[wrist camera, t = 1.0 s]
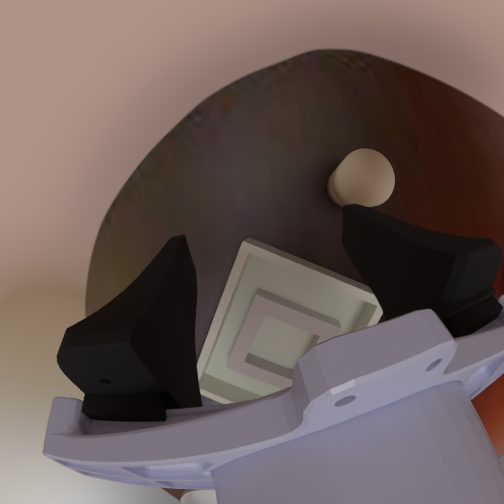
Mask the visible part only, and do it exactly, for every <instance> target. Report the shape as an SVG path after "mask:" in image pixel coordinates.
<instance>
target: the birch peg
mask: <svg viewBox="0 0 504 504" xmlns="http://www.w3.org/2000/svg"><path fill="white" fill-rule="evenodd" d="M394 183H395V177H394V172H393V169H392V166H391V165H390V163H389V161H388V160H387V159H386V158H385V157H384V156H383V155H382V154H380V153H378V152H377V151H374V150H371V149H359V150H355V151H353V152H352V153H350V154H349V155H348V156H347V157H346V158H345V159H344V160H343V161H342V162H341V164H340V165H339V166H338V167H337V168H336V169H335V170H334V172H333V173H332V174H331V175H330V177H329V179H328V182H327V192H328V195H329V197H330V199H331V200H332V201H333V202H334V203H335V204H336V205H338V206H339V207H342V208H343V205H349V204H359V205H363V206H365V207H371V206H377V205H380V204H382V203H383V202H385V201H386V200H387V199H388V198H389V197H390V195H391V193H392V191H393V188H394Z"/></svg>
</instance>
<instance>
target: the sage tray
mask: <svg viewBox="0 0 504 504" xmlns="http://www.w3.org/2000/svg"><path fill="white" fill-rule="evenodd" d="M382 313H383V311H382V309H381V307H380V305H379V303H378V301H377V299H376V297H375V295H374V294H373V292H372V290H371V289H370V288H369V286H366V285H364V284H362V283H359V282H357V281H355V280H352V279H350V278H347V277H345V276H343V275H340V274H338V273H335V272H333V271H331V270H328V269H326V268H323V267H321V266H318V265H316V264H314V263H311V262H309V261H306V260H304V259H301V258H299V257H297V256H294V255H292V254H289V253H287V252H284V251H282V250H279V249H277V248H274V247H272V246H270V245H267V244H265V243H262V242H260V241H257V240H255V239H252V238H250V237H249V238H247V239H245V240H244V241H242V244H241V247H240V249H239V252H238V255H237V257H236V260H235V263H234V265H233V268H232V271H231V273H230V276H229V279H228V281H227V284H226V287H225V289H224V292H223V295H222V297H221V300H220V303H219V306H218V308H217V311H216V314H215V316H214V319H213V322H212V325H211V327H210V330H209V333H208V336H207V338H206V341H205V344H204V347H203V349H202V352H201V355H200V358H199V360H198V363H197V371H198V380H199V387H200V394H202V395H204V396H206V397H208V398H211V399H213V400H215V401H218V402H220V403H223V404H228V403H235V402H241V401H248V400H253V399H258V398H261V397H264V396H266V395H269V394H272V393H275V392H277V391H280V390H283V389H285V388H288V387H290V386H292V384H293V382H292V372H293V369H294V367H295V365H296V362H297V360H298V359H299V358H300V357H301V356H302V355H303V354H304V353H306V352H307V351H308V350H309V349H311V348H312V347H313V346H314V345H316V344H319V343H321V342H323V341H326V340H328V339H330V338H333V337H335V336H339V335H342V334H346V333H349V332H353V331H356V330H359V329H363V328H366V327H369V326H372V325H375V324H377V323H378V321H379V319H380V317H381V315H382Z"/></svg>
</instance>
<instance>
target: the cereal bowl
mask: <svg viewBox="0 0 504 504" xmlns="http://www.w3.org/2000/svg"><path fill="white" fill-rule="evenodd" d="M181 504H217V499H216V492H215V489H185V490H184V492H183V494H182V496H181Z"/></svg>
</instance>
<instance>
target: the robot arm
mask: <svg viewBox="0 0 504 504" xmlns="http://www.w3.org/2000/svg"><path fill="white" fill-rule="evenodd" d="M342 244H343V246H344V248H345V250H346V252H347V254H348V256H349V258H350V260H351V261H352V263H353V264H354V266H355V267H356V269H357V270H358V272H359V273H360V274H361V276H362V277H363V279H364V280H365V282H366V283H367V285H368V286H369V288H370V289H371V290H372V292H373V294H374V295H375V297H376V299H377V301H378V303H379V305H380V307H381V309H382V311H383V313H384V315H385V317H386V320H387V321H384V322H381V323H378V324H375V325H372V326H369V327H366V328H363V329H359V330H356V331H353V332H349V333H346V334H342V335H339V336H335V337H333V338H330V339H328V340H326V341H323V342H321V343H319V344H316V345H314V346H313V347H312V348H311V349H309V350H308V351H307V352H306V353H304V354H303V355H302V356H301V357H300V358H299V359H298V360H297V362H296V365H295V367H294V369H293V372H292V382H293V384H292V386H290V387H288V388H285V389H283V390H280V391H277V392H275V393H272V394H269V395H266V396H264V397H261V398H258V399H253V400H248V401H241V402H235V403H228V404H221V405H213V406H205V407H203V406H202V401H201V394H200V387H199V380H198V371H197V361H196V350H195V319H196V303H197V278H196V270H195V267H194V264H193V261H192V257H191V254H190V251H189V248H188V244H187V241H186V238H185V235H180V236H175V237H171V238H170V239H169V240H168V242H167V243H166V244H165V245H164V247H163V248H162V249H161V250H160V252H159V253H158V254H157V255H156V257H155V258H154V259H153V260H152V262H151V263H150V264H149V265H148V266H147V267H146V268H145V270H144V271H143V272H142V273H141V274H140V275H139V276H138V277H137V278H136V279H135V280H134V281H133V282H132V283H131V284H130V285H129V286H128V287H127V288H126V289H125V290H124V291H123V292H121V293H120V294H119V295H118V296H116V297H115V298H114V299H113V300H112V301H110V302H109V303H108V304H106V305H105V306H104V307H102V308H101V309H99V310H98V311H96V312H95V313H93V314H92V315H90V316H88V317H87V318H85V319H83V320H82V321H80V322H78V323H76V324H74V325H73V326H71V327H69V328H67V329H66V332H65V334H64V337H63V340H62V343H61V346H60V348H59V351H58V354H57V363H58V365H59V367H60V369H61V370H62V371H63V373H64V374H65V375H66V376H67V377H68V378H69V379H70V380H71V381H72V382H73V383H74V384H75V385H76V386H77V387H78V388H79V389H80V390H81V391H82V392H84V393H85V396H84V401H81V400H79V399H75V398H65V397H54V398H53V402H52V406H51V411H50V415H49V420H48V425H47V430H46V435H45V441H44V448H43V454H44V456H46V457H48V458H50V459H52V460H54V461H56V462H58V463H60V464H62V465H64V466H66V467H68V468H70V469H72V470H74V471H77V472H79V473H81V474H83V475H86V476H90V477H95V478H101V479H106V480H112V481H117V482H123V483H129V484H136V485H144V486H153V487H163V488H177V489H215V492H216V499H217V504H504V472H503V469H502V467H501V464H500V461H499V459H498V457H497V454H496V452H495V450H494V447H493V445H492V443H491V441H490V438H489V436H488V434H487V432H486V430H485V428H484V426H483V424H482V422H481V420H480V418H479V416H478V414H477V412H476V410H475V408H474V406H473V404H472V403H471V401H470V400H471V399H473V398H474V397H475V396H476V395H478V394H479V393H480V392H482V391H483V390H484V389H485V388H486V387H488V386H489V385H490V384H491V383H493V382H494V381H495V380H496V379H497V378H498V377H500V376H501V375H502V374H503V373H504V294H503V295H502V296H501V297H500V298H499V299H498V300H497V299H496V298H495V297H494V296H493V295H495V293H496V291H495V289H494V288H493V287H492V284H493V282H494V279H495V277H496V275H497V272H498V270H499V267H500V264H501V260H502V250H501V248H500V246H499V245H497V244H496V243H495V242H494V241H493V240H491V239H488V238H472V237H463V236H456V235H450V234H445V233H441V232H436V231H432V230H428V229H425V228H422V227H418V226H415V225H412V224H409V223H406V222H404V221H401V220H398V219H396V218H393V217H391V216H388V215H386V214H383V213H381V212H378V211H376V210H373V209H371V208H368V207H365V206H363V205H359V204H349V205H343V234H342Z"/></svg>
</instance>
